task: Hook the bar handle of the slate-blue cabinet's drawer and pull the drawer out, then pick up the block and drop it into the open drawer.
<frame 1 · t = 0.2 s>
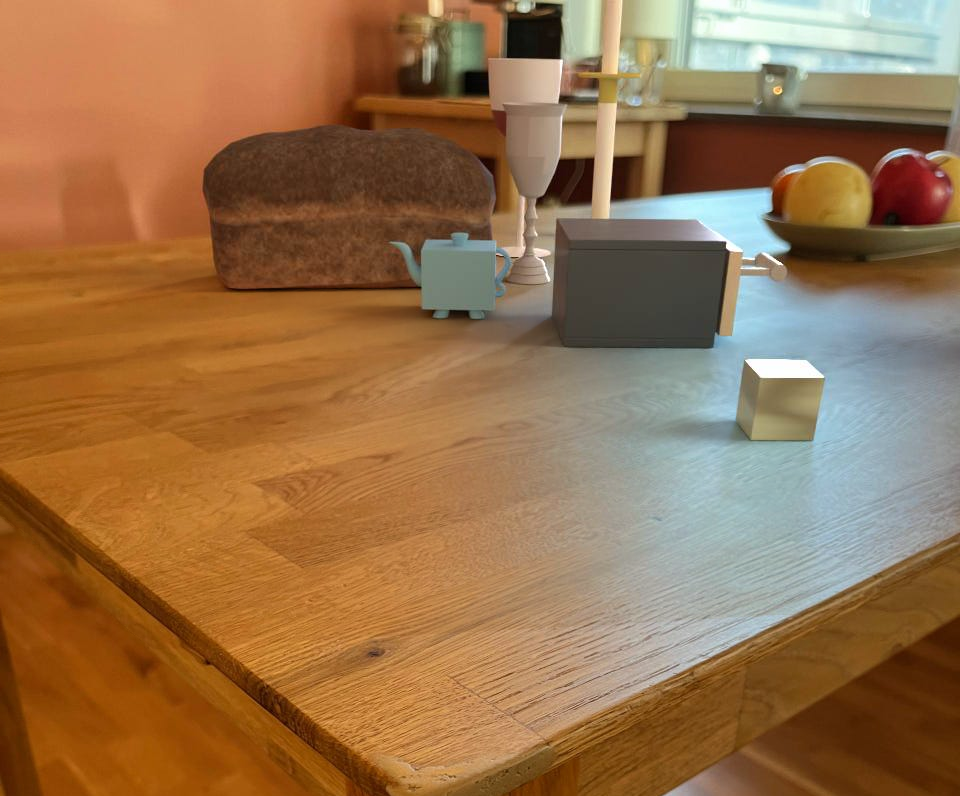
teapot: (450, 314, 103), on the table
candle: (598, 238, 145), on the table
drawer: (682, 281, 95), point 5 cm above the table, slide at 0.5 cm
chalice: (528, 281, 118), on the table
wineglass: (519, 254, 133), on the table
block: (773, 430, 72), on the table
bread: (355, 280, 117), on the table
cabinet: (628, 330, 97), on the table
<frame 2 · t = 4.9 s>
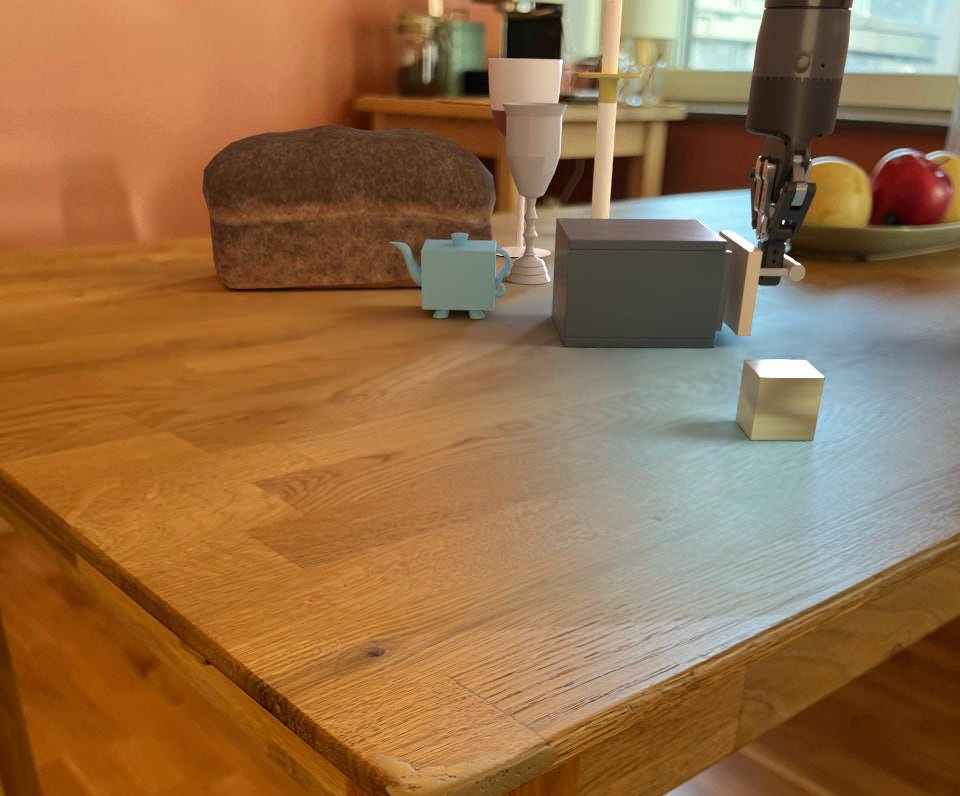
hand: (765, 283, 95), 4 cm above the table, tool pointing down, fingers closed
drawer: (700, 281, 95), point 5 cm above the table, slide at 2.2 cm, touching gripper
everything else where it was.
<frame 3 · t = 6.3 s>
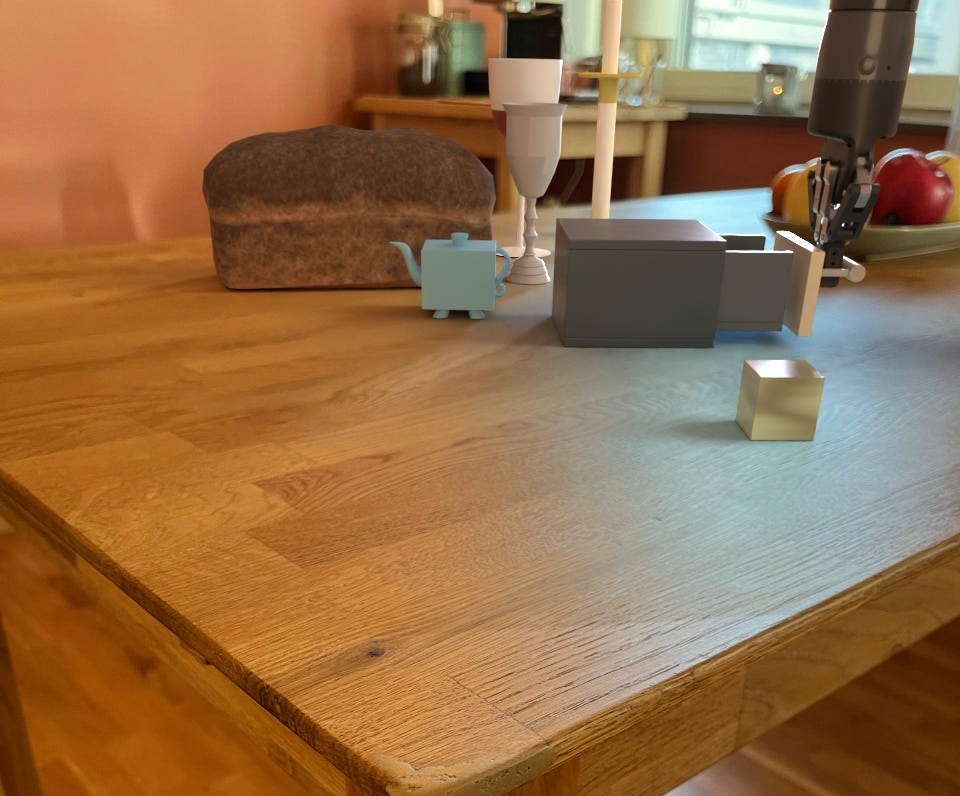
hand: (823, 285, 95), 4 cm above the table, tool pointing down, fingers closed
drawer: (759, 282, 95), point 5 cm above the table, slide at 7.7 cm, touching gripper
everything else where it was.
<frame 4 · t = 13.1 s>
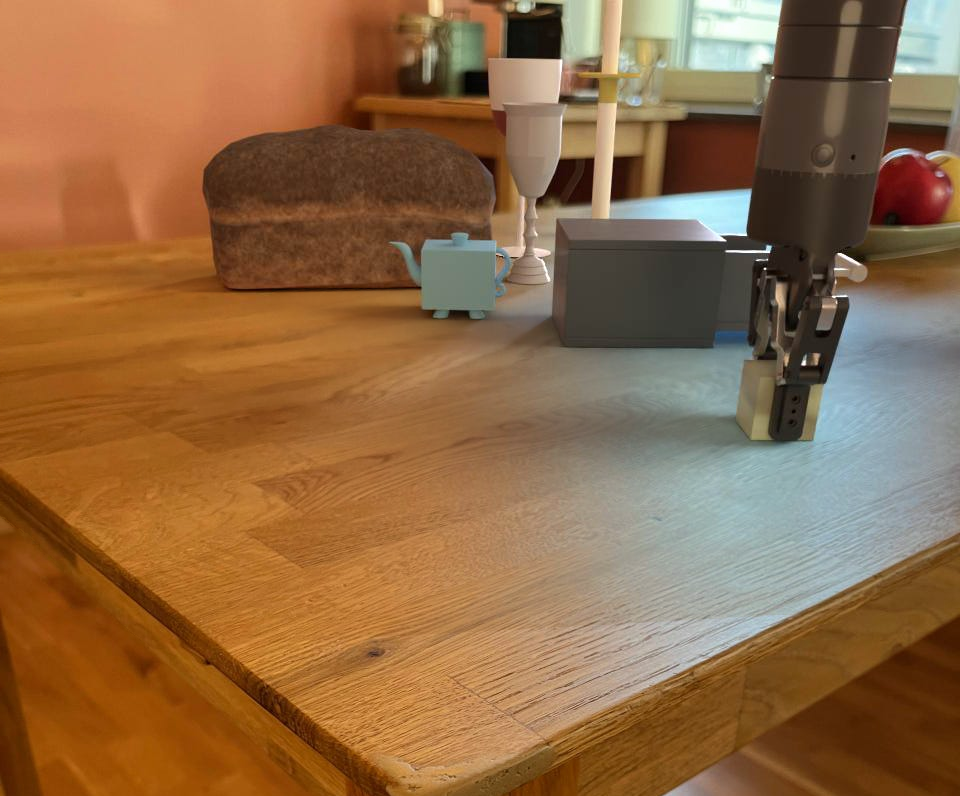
hand: (773, 425, 72), 0 cm above the table, tool pointing down, fingers closed on block, 4 cm apart
drawer: (761, 282, 95), point 5 cm above the table, slide at 7.9 cm
block: (773, 430, 72), on the table, touching gripper
everything else where it was.
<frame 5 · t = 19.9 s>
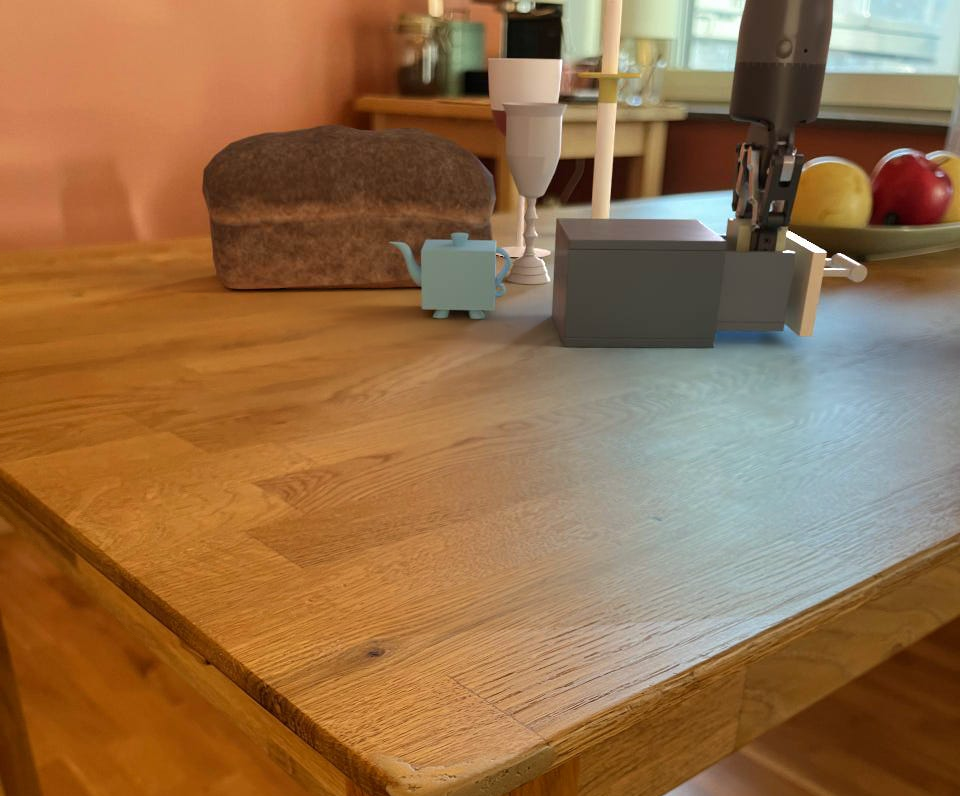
hand: (751, 269, 94), 6 cm above the table, tool pointing down, fingers closed on block, 4 cm apart
block: (750, 272, 94), point 5 cm above the table, touching gripper
everything else where it was.
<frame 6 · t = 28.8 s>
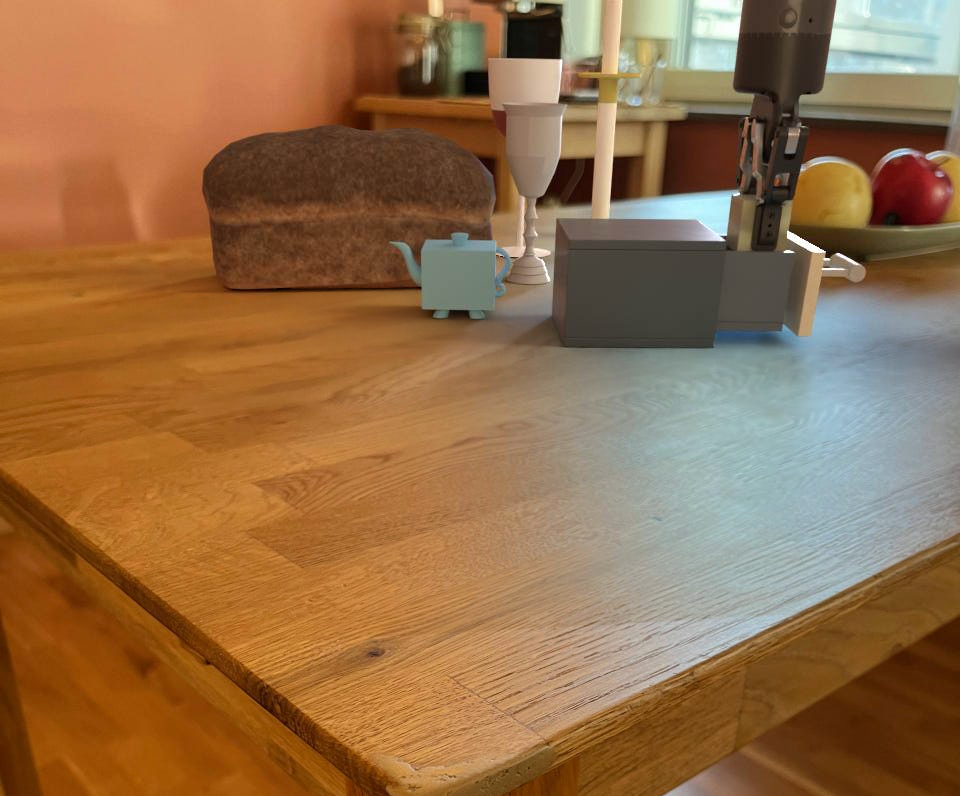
hand: (755, 245, 93), 8 cm above the table, tool pointing down, fingers closed on block, 4 cm apart
block: (754, 249, 93), point 7 cm above the table, touching gripper
everything else where it was.
when the fingers open (9 cm above the table, at t = 37.3 s): block drops 7 cm, resting on drawer.
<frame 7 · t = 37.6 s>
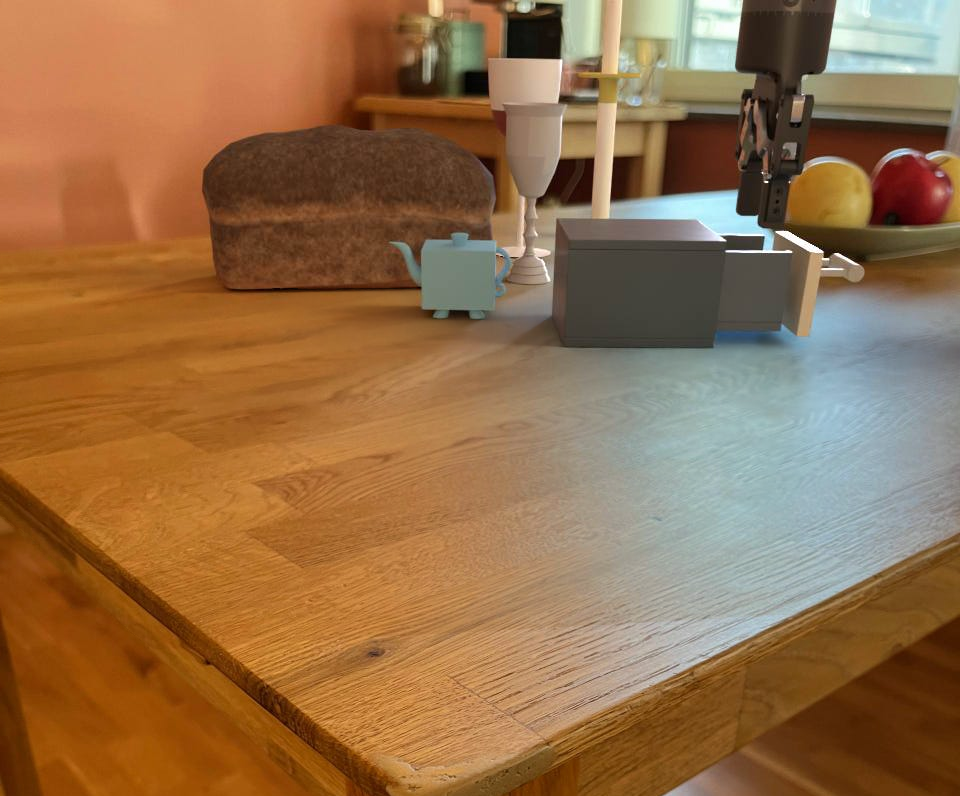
hand: (758, 221, 92), 10 cm above the table, tool pointing down, fingers open, 7 cm apart
drawer: (758, 282, 95), point 5 cm above the table, slide at 7.6 cm, touching block
block: (745, 310, 96), point 2 cm above the table, touching drawer
everything else where it was.
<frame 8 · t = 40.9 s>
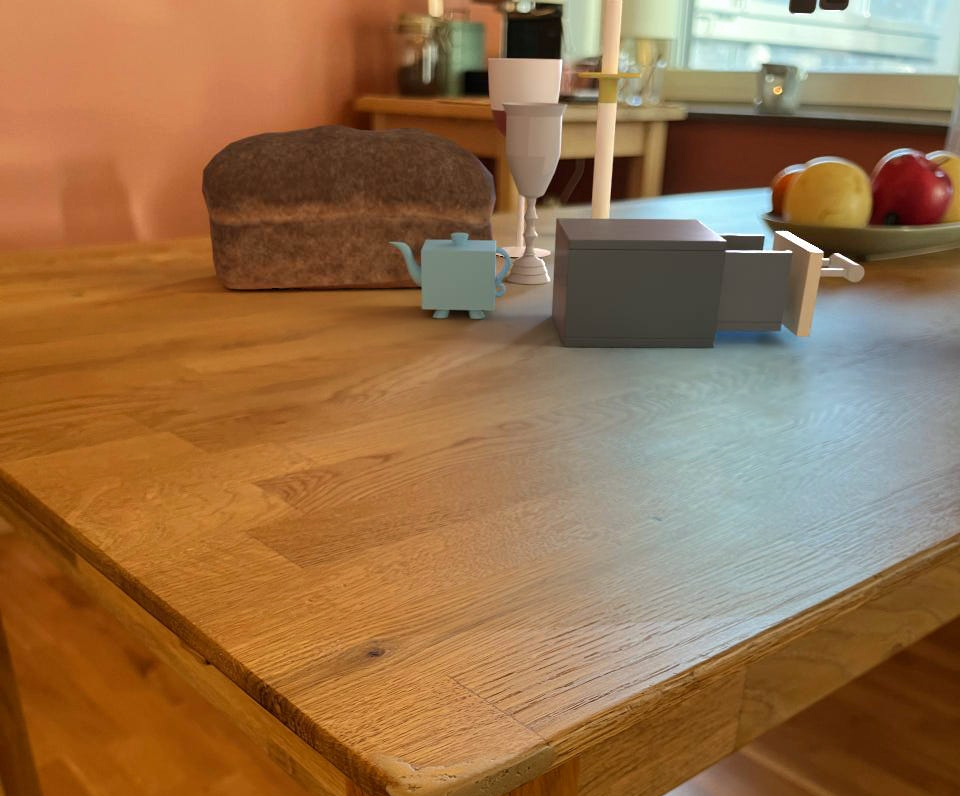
hand: (816, 12, 86), 26 cm above the table, tool pointing down, fingers open, 8 cm apart
nothing on the table moved.
at the end: drawer slide at 7.6 cm; block inside the target area in the drawer (0.5 cm from its centre), point 2.0 cm above the cabinet's base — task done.
